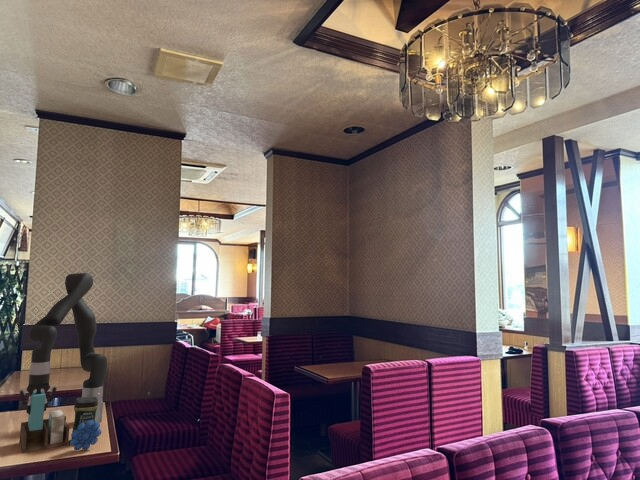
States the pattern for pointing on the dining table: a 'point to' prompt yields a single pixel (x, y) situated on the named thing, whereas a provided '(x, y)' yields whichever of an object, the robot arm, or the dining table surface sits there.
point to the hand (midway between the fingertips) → (36, 412)
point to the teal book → (36, 412)
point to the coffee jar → (85, 410)
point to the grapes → (85, 435)
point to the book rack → (45, 433)
